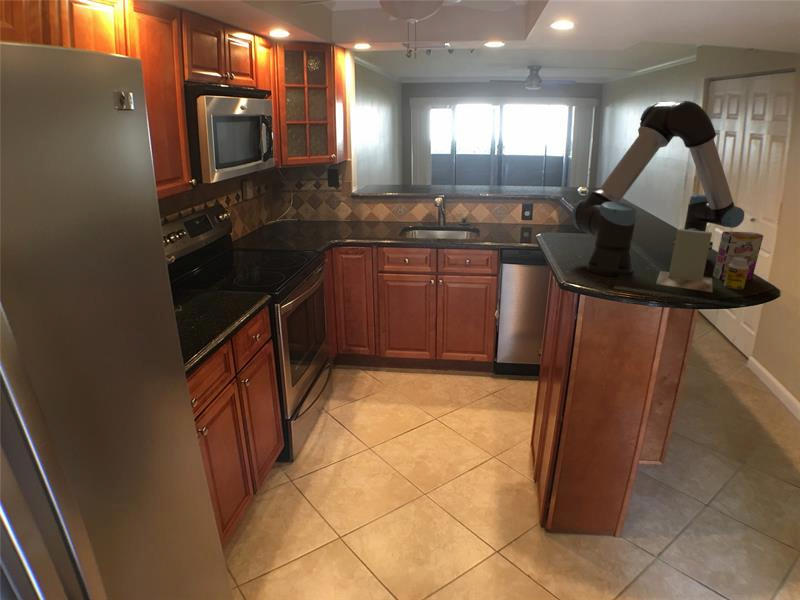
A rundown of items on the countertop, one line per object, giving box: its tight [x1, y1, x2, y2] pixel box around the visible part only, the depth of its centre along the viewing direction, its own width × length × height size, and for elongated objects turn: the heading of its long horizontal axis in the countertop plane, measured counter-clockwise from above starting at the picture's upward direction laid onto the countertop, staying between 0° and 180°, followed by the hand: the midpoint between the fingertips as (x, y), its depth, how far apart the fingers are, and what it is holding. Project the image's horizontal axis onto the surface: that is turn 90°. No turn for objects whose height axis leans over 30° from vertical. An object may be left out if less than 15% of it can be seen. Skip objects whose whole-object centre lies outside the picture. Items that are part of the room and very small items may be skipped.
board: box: [655, 270, 714, 293], centre depth 177 cm, size 16×18×1 cm
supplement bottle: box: [723, 258, 749, 291], centre depth 170 cm, size 6×6×10 cm
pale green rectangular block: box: [668, 228, 713, 282], centre depth 177 cm, size 10×3×16 cm, turn 61°
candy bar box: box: [712, 231, 764, 281], centre depth 179 cm, size 11×5×16 cm, turn 92°
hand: (691, 252), depth 183 cm, fingers closed
